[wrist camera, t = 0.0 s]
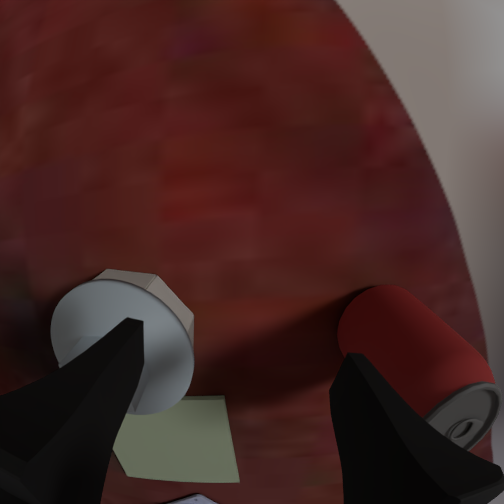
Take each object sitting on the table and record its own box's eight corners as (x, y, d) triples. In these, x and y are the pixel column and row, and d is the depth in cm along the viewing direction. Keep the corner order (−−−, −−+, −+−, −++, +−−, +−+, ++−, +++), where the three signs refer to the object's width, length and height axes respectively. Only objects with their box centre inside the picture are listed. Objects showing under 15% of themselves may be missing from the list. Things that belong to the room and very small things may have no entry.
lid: (205, 409, 20) (198, 454, 16) (81, 402, 20) (59, 438, 16) (180, 273, 18) (162, 304, 14) (40, 282, 18) (2, 306, 14)
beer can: (396, 363, 23) (466, 467, 12) (323, 356, 23) (370, 484, 11) (426, 288, 22) (529, 372, 10) (350, 273, 21) (440, 375, 10)
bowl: (139, 395, 23) (129, 418, 21) (61, 316, 22) (42, 333, 19) (219, 340, 22) (216, 364, 19) (131, 245, 20) (114, 256, 17)
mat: (239, 478, 26) (239, 482, 26) (128, 472, 26) (127, 476, 26) (224, 395, 23) (223, 399, 23) (89, 391, 24) (87, 394, 23)
